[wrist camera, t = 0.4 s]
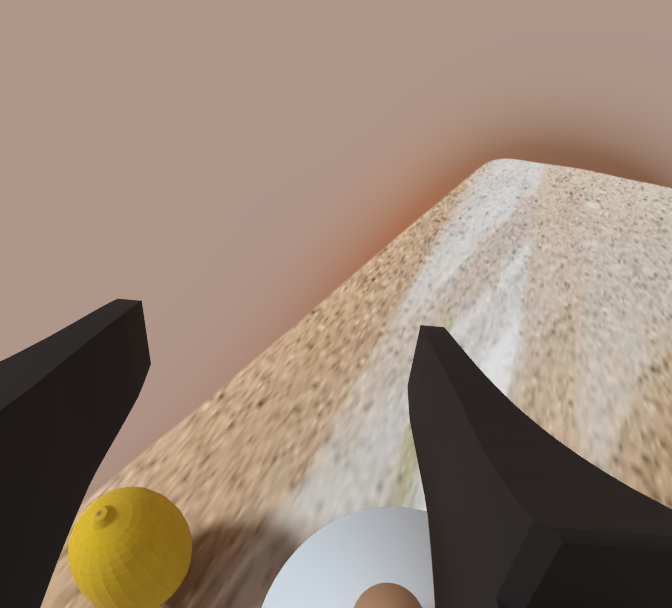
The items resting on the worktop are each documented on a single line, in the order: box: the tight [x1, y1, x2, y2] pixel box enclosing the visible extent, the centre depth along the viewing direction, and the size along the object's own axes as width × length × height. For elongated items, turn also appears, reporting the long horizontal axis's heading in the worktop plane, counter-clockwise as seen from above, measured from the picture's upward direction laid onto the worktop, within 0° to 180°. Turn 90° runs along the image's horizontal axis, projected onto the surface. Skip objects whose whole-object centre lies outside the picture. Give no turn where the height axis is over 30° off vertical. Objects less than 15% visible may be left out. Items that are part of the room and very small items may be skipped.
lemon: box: [68, 487, 192, 608], centre depth 25 cm, size 6×6×8 cm
